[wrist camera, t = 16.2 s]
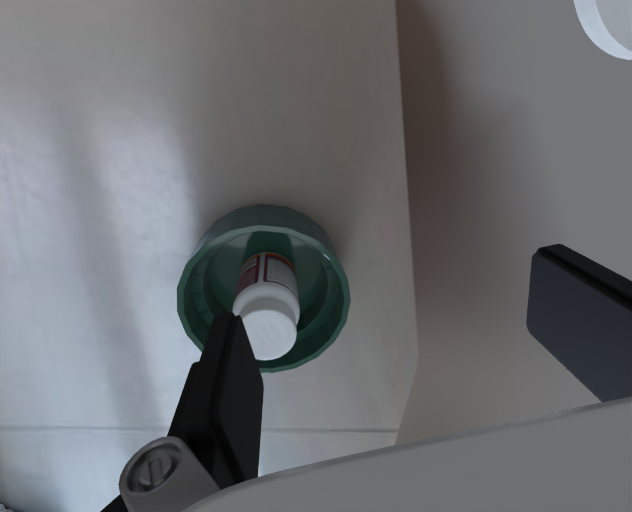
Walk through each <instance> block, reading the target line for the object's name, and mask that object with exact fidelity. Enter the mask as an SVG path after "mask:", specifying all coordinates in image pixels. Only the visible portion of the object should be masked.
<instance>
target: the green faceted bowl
mask: <svg viewBox="0 0 632 512" xmlns="http://www.w3.org/2000/svg"><path fill="white" fill-rule="evenodd" d="M261 252H274V253H278V254H280V255H282V256H284V257H285V258H287V259H288V260H289V261H290V263H291V264H292V266H293V268H294V271H295V276H296V283H297V292H298V300H299V307H300V315H299V320H298V323H297V325H296V331H297V335H296V340H295V343H294V345H293V347H292V348H291V349H290V350H289V351H288V352H287V353H286V354H284V355H283V356H281V357H279V358H276V359H272V360H258V359H256V362H257V365H258V368H259V371H260V373H275V372H279V371H284V370H289V369H294V368H297V367H299V366H301V365H303V364H305V363H307V362H309V361H311V360H313V359H315V358H317V357H318V356H319V355H320V354H321V353H323V352H324V351H325V350H326V349H327V348H328V347H329V346H330V345H332V344H333V343H334V342H335V340H336V338H337V337H338V335H339V333H340V332H341V330H342V328H343V327H344V325H345V323H346V320H347V315H348V310H349V306H350V300H351V299H350V293H349V286H348V280H347V276H346V274H345V271H344V269H343V266H342V264H341V261H340V259H339V256H338V254H337V251H336V249H335V248H334V246H333V244H332V242H331V240H330V239H329V237H328V235H327V233H326V232H325V231H324V230H323V229H322V228H321V227H319V226H318V225H317V224H316V223H315V222H314V221H313V220H312V219H311V218H309V217H308V216H305V215H303V214H301V213H299V212H296V211H294V210H292V209H290V208H286V207H280V206H271V205H257V206H252V207H247V208H242V209H238V210H235V211H233V212H232V213H230V214H228V215H226V216H224V217H223V218H221V219H219V220H217V221H216V222H215V223H214V224H213V225H212V226H211V227H210V228H209V229H208V231H207V232H206V233H205V234H204V235H203V236H202V237H201V239H200V240H199V242H198V244H197V246H196V247H195V249H194V251H193V253H192V255H191V256H190V258H189V260H188V262H187V264H186V266H185V268H184V271H183V273H182V276H181V279H180V281H179V284H178V287H177V312H178V315H179V317H180V320H181V322H182V325H183V327H184V330H185V332H186V334H187V336H188V337H189V338H190V339H191V340H192V341H193V343H194V344H195V345H196V346H197V347H198V348H199V349H200V351H201V352H203V348H204V345H205V342H206V339H207V336H208V333H209V330H210V326H211V323H212V320H213V317H214V316H215V315H219V314H224V313H229V312H233V304H234V300H235V294H236V290H237V285H238V280H239V275H240V271H241V268H242V266H243V264H244V263H245V262H246V261H247V260H248V259H249V258H250V257H251V256H253V255H255V254H257V253H261Z"/></svg>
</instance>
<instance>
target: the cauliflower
mask: <svg viewBox="0 0 632 512" xmlns="http://www.w3.org/2000/svg"><path fill="white" fill-rule="evenodd" d="M4 507H5V506H4V505H3V504H0V512H13V510H11V509H5V508H4Z"/></svg>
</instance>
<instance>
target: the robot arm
mask: <svg viewBox="0 0 632 512" xmlns="http://www.w3.org/2000/svg"><path fill="white" fill-rule="evenodd" d="M526 323H527V328H528V330H529V332H530V334H531V335H532V336H533V337H534V338H535V339H536V340H537V341H538V342H540V343H541V344H542V345H543V346H544V347H545V348H546V349H547V350H548V351H549V352H550V353H551V354H552V355H553V356H554V357H555V358H556V359H557V360H558V361H559V362H560V363H561V364H563V365H564V366H565V367H566V368H567V369H568V370H569V371H570V372H571V373H572V374H573V375H574V376H575V377H576V378H577V379H578V380H579V381H580V382H581V383H582V384H583V385H584V386H586V387H587V388H588V389H589V390H590V391H591V392H592V393H593V394H594V395H595V396H596V397H597V398H598V399H599V400H600V401H601V402H602V403H597V404H592V405H587V406H582V407H578V408H572V409H567V410H562V411H557V412H552V413H548V414H543V415H538V416H533V417H528V418H523V419H519V420H514V421H509V422H504V423H499V424H494V425H489V426H485V427H480V428H475V429H471V430H466V431H461V432H456V433H451V434H447V435H442V436H437V437H432V438H427V439H423V440H419V441H413V442H409V443H404V444H399V445H395V446H390V447H385V448H381V449H376V450H371V451H367V452H362V453H357V454H353V455H348V456H343V457H339V458H334V459H330V460H326V461H321V462H317V463H313V464H308V465H304V466H300V467H296V468H291V469H287V470H283V471H278V472H275V473H271V474H268V475H264V476H261V477H258V465H259V450H260V436H261V421H262V406H263V391H264V387H263V380H262V376H261V373H260V371H259V368H258V365H257V362H256V359H255V356H254V353H253V350H252V347H251V344H250V341H249V338H248V335H247V332H246V329H245V326H244V323H243V320H242V318H241V316H240V315H237V316H235V314H234V313H233V312H229V313H224V314H219V315H215V316H214V317H213V320H212V323H211V326H210V330H209V333H208V336H207V339H206V342H205V345H204V348H203V352H202V355H201V358H200V361H199V362H195V363H193V364H192V366H191V368H190V371H189V374H188V377H187V380H186V383H185V385H184V388H183V391H182V394H181V397H180V400H179V403H178V406H177V409H176V412H175V415H174V417H173V420H172V423H171V426H170V429H169V432H168V435H167V437H161V438H159V439H156V440H154V441H151V442H150V443H148V444H147V445H145V446H143V447H142V448H141V449H140V450H139V451H138V452H136V453H135V454H134V455H133V456H132V458H131V459H130V460H129V461H128V463H127V464H126V465H125V467H124V469H123V471H122V473H121V475H120V480H119V490H120V495H119V496H118V497H116V498H115V499H114V500H113V501H112V502H111V503H110V504H108V505H107V506H106V507H105V508H104V509H103V510H102V511H101V512H632V281H630V280H629V279H627V278H625V277H623V276H621V275H619V274H617V273H615V272H613V271H612V270H610V269H608V268H606V267H604V266H602V265H600V264H598V263H596V262H594V261H593V260H591V259H589V258H587V257H585V256H583V255H581V254H579V253H577V252H575V251H573V250H571V249H570V248H568V247H566V246H564V245H562V244H556V245H551V246H546V247H541V248H539V249H538V250H537V252H536V253H535V254H534V255H533V256H532V263H531V275H530V286H529V299H528V310H527V321H526Z"/></svg>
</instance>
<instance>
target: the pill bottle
mask: <svg viewBox="0 0 632 512" xmlns="http://www.w3.org/2000/svg"><path fill="white" fill-rule="evenodd" d="M233 313H234V314H235V316H237V315H240V316H241V318H242V320H243V323H244V326H245V329H246V332H247V335H248V338H249V341H250V344H251V347H252V350H253V353H254V356H255V359H258V360H272V359H276V358H279V357H281V356H283V355H284V354H286V353H287V352H288V351H289V350H290V349H291V348H292V347H293V345H294V343H295V340H296V335H297V331H296V325H297V323H298V320H299V315H300V307H299V300H298V292H297V283H296V276H295V271H294V268H293V266H292V264H291V263H290V261H289V260H288V259H287V258H285V257H284V256H282V255H280V254H278V253H274V252H261V253H257V254H255V255H253V256H251V257H250V258H249V259H248V260H247V261H246V262H245V263H244V264H243V266H242V268H241V271H240V275H239V280H238V285H237V290H236V294H235V300H234V304H233Z"/></svg>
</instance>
